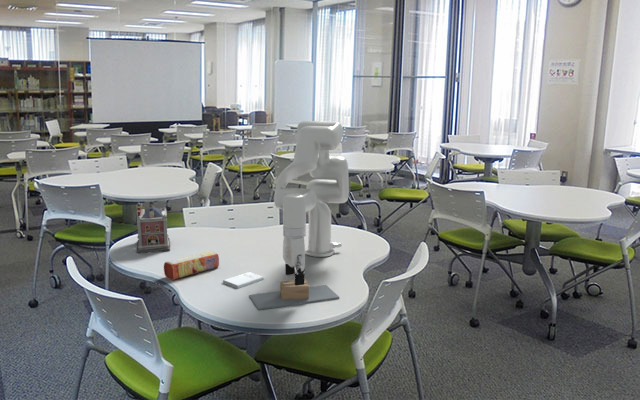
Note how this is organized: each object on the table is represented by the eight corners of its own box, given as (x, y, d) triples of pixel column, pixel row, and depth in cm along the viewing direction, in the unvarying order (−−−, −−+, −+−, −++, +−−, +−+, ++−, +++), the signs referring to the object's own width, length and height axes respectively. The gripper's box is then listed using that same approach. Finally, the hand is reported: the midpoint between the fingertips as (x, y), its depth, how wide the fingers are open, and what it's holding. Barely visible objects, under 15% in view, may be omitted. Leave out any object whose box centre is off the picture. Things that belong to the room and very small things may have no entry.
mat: (325, 286, 197) (326, 284, 197) (339, 298, 187) (339, 296, 186) (249, 296, 187) (249, 294, 187) (258, 310, 176) (258, 308, 176)
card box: (280, 293, 189) (280, 280, 188) (306, 291, 191) (306, 278, 190) (282, 300, 183) (282, 286, 182) (308, 298, 185) (308, 285, 184)
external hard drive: (223, 284, 200) (248, 275, 209) (237, 289, 195) (263, 280, 204) (222, 279, 199) (248, 271, 209) (237, 285, 194) (263, 276, 203)
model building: (137, 241, 249) (134, 197, 245) (170, 239, 253) (167, 196, 248) (135, 253, 231) (133, 207, 227) (170, 251, 235) (168, 205, 231)
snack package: (210, 264, 220) (210, 248, 218) (220, 268, 215) (220, 251, 214) (163, 277, 205) (162, 260, 203) (173, 282, 200) (172, 264, 199)
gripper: (275, 224, 189) (276, 272, 193) (292, 239, 173) (292, 290, 177) (296, 222, 191) (296, 269, 195) (314, 237, 176) (314, 287, 180)
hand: (294, 279), depth 186 cm, fingers open, 9 cm apart
